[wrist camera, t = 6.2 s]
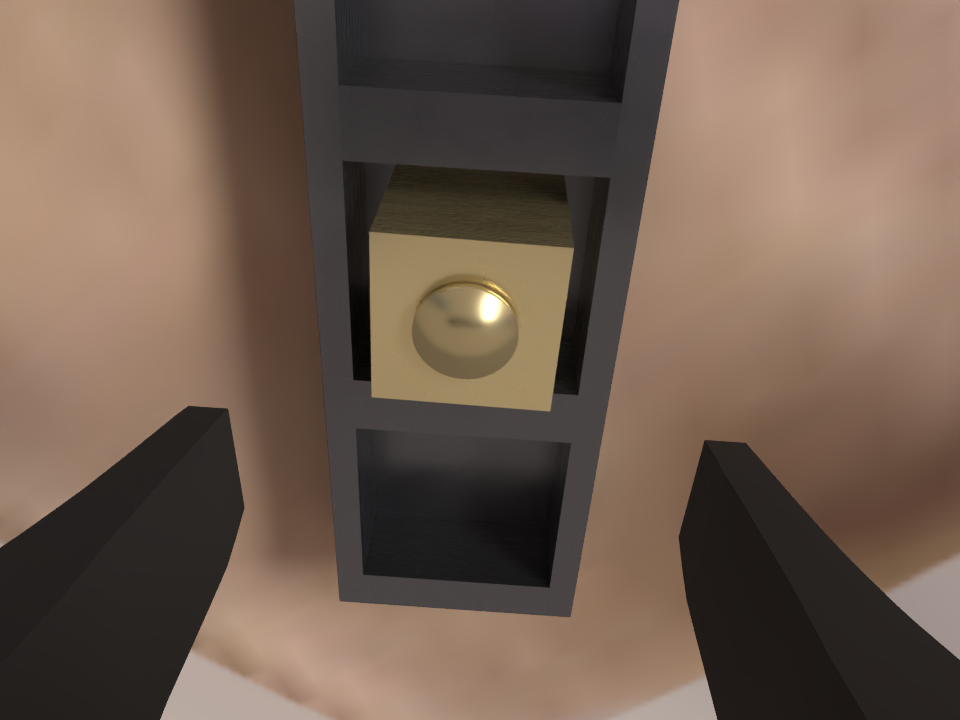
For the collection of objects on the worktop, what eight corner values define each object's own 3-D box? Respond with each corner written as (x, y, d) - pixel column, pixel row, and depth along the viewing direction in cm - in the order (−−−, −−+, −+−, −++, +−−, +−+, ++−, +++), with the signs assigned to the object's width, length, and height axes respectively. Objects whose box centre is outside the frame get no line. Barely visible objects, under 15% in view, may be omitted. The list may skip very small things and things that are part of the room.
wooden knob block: (564, 175, 18) (575, 254, 15) (545, 320, 21) (550, 420, 17) (396, 162, 18) (366, 238, 15) (395, 308, 21) (369, 404, 17)
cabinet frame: (703, -327, 14) (743, -367, 11) (565, 543, 26) (570, 616, 23) (310, -350, 14) (264, -394, 11) (357, 528, 26) (339, 601, 23)
